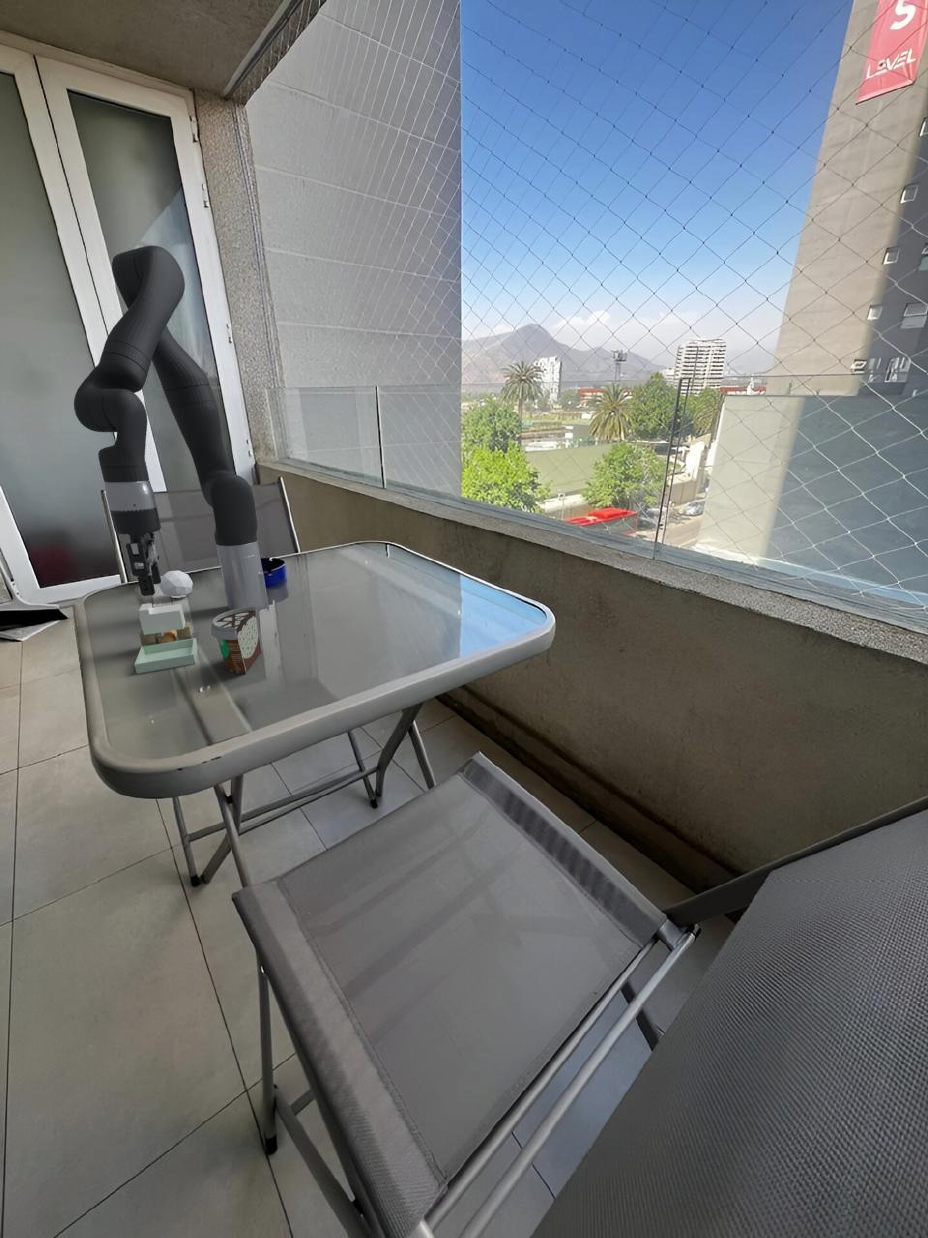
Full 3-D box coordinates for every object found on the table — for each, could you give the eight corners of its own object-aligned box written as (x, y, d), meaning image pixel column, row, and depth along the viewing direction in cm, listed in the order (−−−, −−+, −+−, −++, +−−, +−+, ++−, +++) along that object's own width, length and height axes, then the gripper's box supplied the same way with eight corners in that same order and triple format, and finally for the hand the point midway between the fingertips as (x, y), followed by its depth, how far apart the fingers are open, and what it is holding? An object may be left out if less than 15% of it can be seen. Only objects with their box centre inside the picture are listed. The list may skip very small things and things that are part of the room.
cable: (179, 633, 108) (176, 623, 107) (175, 648, 100) (173, 637, 99) (166, 635, 107) (164, 625, 106) (162, 650, 99) (159, 639, 98)
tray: (197, 646, 101) (195, 638, 100) (195, 663, 93) (193, 654, 93) (143, 655, 97) (141, 646, 96) (137, 673, 89) (134, 664, 89)
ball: (190, 606, 135) (202, 584, 133) (160, 604, 128) (172, 580, 126) (179, 588, 138) (191, 566, 136) (149, 585, 131) (161, 562, 129)
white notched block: (185, 621, 103) (180, 599, 101) (183, 628, 99) (178, 605, 97) (147, 627, 100) (140, 604, 99) (144, 634, 97) (137, 611, 95)
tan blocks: (194, 639, 104) (189, 622, 103) (193, 644, 102) (189, 626, 100) (146, 647, 101) (141, 629, 99) (144, 652, 98) (139, 634, 97)
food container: (233, 653, 99) (224, 606, 95) (264, 651, 99) (256, 605, 96) (209, 682, 87) (197, 630, 84) (244, 680, 88) (234, 628, 84)
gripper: (150, 509, 87) (169, 597, 92) (161, 501, 99) (177, 578, 104) (99, 512, 84) (122, 601, 89) (117, 502, 96) (136, 582, 102)
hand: (152, 589), depth 97 cm, fingers open, 8 cm apart
